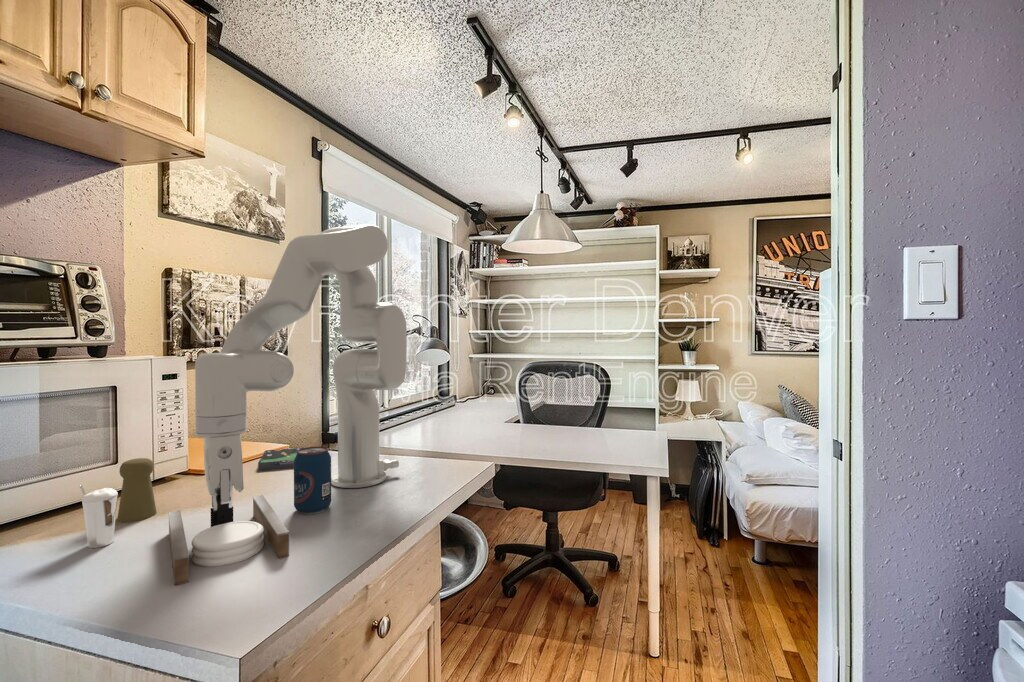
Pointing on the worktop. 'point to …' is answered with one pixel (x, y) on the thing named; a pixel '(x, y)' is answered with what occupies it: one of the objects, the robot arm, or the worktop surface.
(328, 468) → the soda can
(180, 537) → the chute
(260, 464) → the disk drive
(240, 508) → the worktop surface
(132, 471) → the olive pepper shaker
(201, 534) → the coaster
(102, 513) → the milkshake
